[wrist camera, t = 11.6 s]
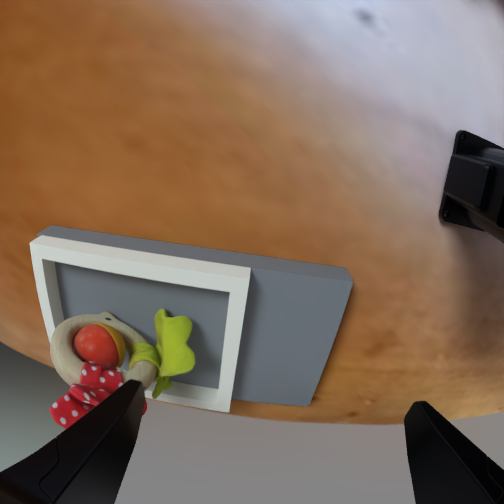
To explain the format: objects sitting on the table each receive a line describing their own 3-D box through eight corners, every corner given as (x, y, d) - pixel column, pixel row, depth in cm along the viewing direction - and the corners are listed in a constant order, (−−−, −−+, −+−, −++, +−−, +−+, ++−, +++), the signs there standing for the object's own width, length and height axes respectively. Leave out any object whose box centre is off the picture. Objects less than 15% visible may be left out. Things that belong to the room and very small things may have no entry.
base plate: (346, 267, 21) (359, 293, 18) (306, 389, 26) (310, 419, 23) (51, 225, 21) (24, 242, 18) (71, 346, 26) (54, 370, 22)
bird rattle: (117, 331, 24) (202, 394, 22) (12, 390, 15) (103, 488, 12) (125, 270, 22) (225, 335, 20) (-5, 322, 12) (97, 442, 10)
